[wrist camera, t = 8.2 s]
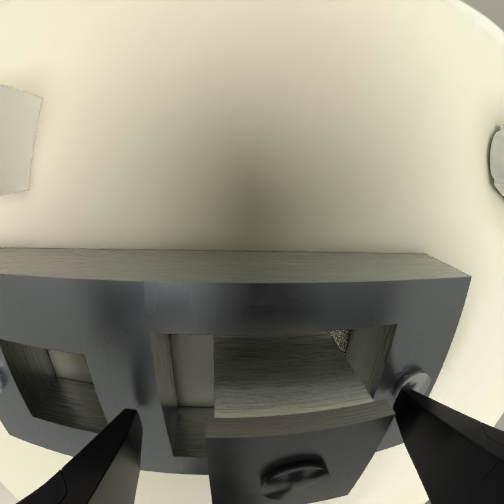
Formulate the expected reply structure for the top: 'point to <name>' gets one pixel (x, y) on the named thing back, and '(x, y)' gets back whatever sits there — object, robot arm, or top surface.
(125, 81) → the top surface
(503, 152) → the photo printer
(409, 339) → the metal cover plate
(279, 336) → the drawer with knob
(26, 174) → the white angled block
